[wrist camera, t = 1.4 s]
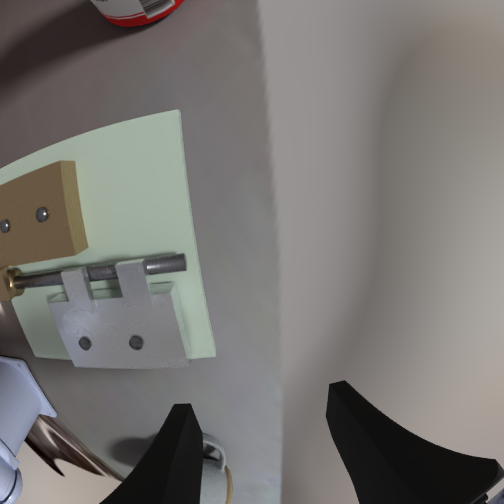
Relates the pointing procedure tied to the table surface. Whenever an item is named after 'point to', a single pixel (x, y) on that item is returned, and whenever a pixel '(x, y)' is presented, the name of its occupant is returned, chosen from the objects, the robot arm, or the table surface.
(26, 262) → the bronze leaf
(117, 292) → the steel leaf
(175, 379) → the table surface
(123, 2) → the beer can
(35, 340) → the board
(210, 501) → the ceramic mug
